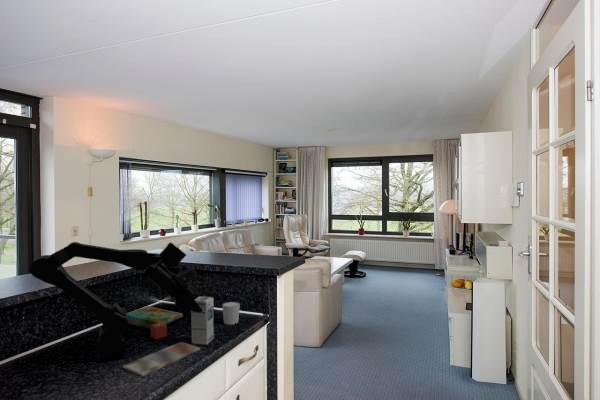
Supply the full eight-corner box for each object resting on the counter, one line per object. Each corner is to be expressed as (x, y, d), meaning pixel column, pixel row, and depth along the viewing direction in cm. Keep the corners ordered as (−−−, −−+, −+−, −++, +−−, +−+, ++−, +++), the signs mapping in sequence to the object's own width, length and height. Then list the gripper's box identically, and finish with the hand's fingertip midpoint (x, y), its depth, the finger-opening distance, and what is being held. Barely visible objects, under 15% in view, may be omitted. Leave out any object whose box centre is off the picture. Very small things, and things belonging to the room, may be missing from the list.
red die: (155, 339, 126) (155, 327, 126) (150, 336, 129) (150, 324, 129) (166, 336, 129) (166, 324, 129) (161, 333, 132) (161, 321, 132)
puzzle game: (146, 304, 151) (182, 311, 143) (146, 315, 152) (182, 323, 143) (121, 312, 141) (159, 320, 132) (121, 324, 141) (159, 333, 132)
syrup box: (207, 344, 122) (207, 301, 121) (190, 343, 123) (190, 300, 122) (214, 338, 127) (214, 296, 127) (198, 337, 128) (198, 295, 128)
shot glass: (220, 320, 146) (220, 302, 146) (238, 318, 148) (238, 300, 148) (223, 325, 139) (223, 307, 139) (241, 323, 142) (241, 305, 142)
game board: (142, 376, 100) (142, 374, 100) (122, 367, 105) (122, 365, 105) (200, 349, 118) (200, 347, 118) (181, 343, 123) (181, 341, 123)
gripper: (186, 264, 113) (222, 295, 118) (177, 255, 130) (209, 283, 135) (160, 293, 110) (197, 323, 115) (153, 280, 126) (187, 307, 131)
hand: (198, 307), depth 124 cm, fingers open, 9 cm apart
